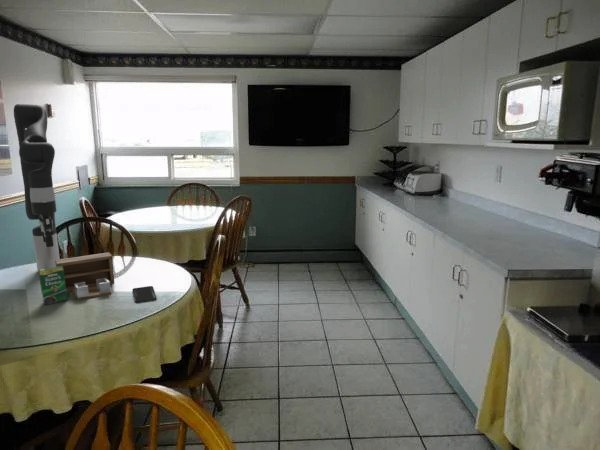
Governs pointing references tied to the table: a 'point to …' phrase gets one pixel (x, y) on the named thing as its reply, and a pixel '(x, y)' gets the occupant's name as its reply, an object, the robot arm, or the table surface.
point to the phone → (144, 294)
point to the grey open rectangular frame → (101, 285)
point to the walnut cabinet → (87, 272)
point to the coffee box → (53, 285)
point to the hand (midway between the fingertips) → (48, 244)
